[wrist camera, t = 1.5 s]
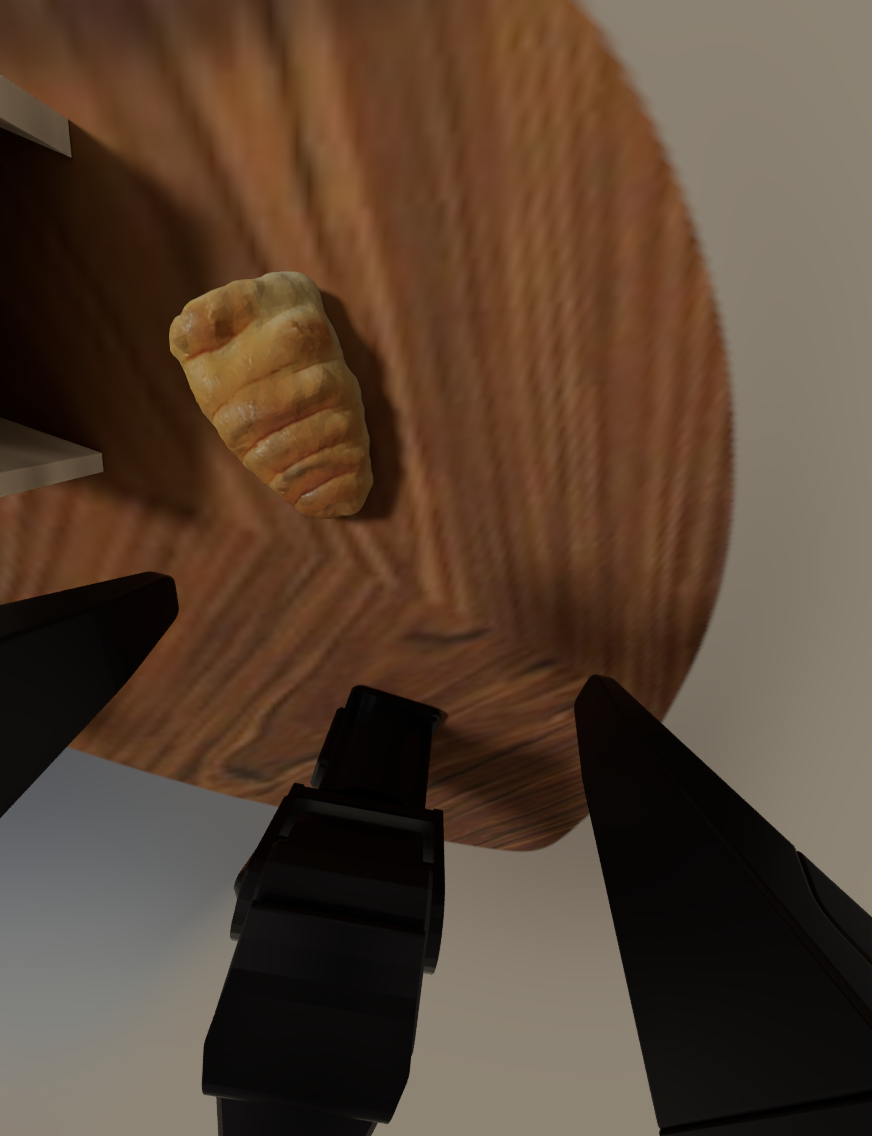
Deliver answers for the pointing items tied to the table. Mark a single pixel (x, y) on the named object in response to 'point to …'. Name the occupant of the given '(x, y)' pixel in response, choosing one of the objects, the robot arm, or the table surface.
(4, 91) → the plain beige box
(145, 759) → the table surface
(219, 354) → the pastry
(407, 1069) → the robot arm
